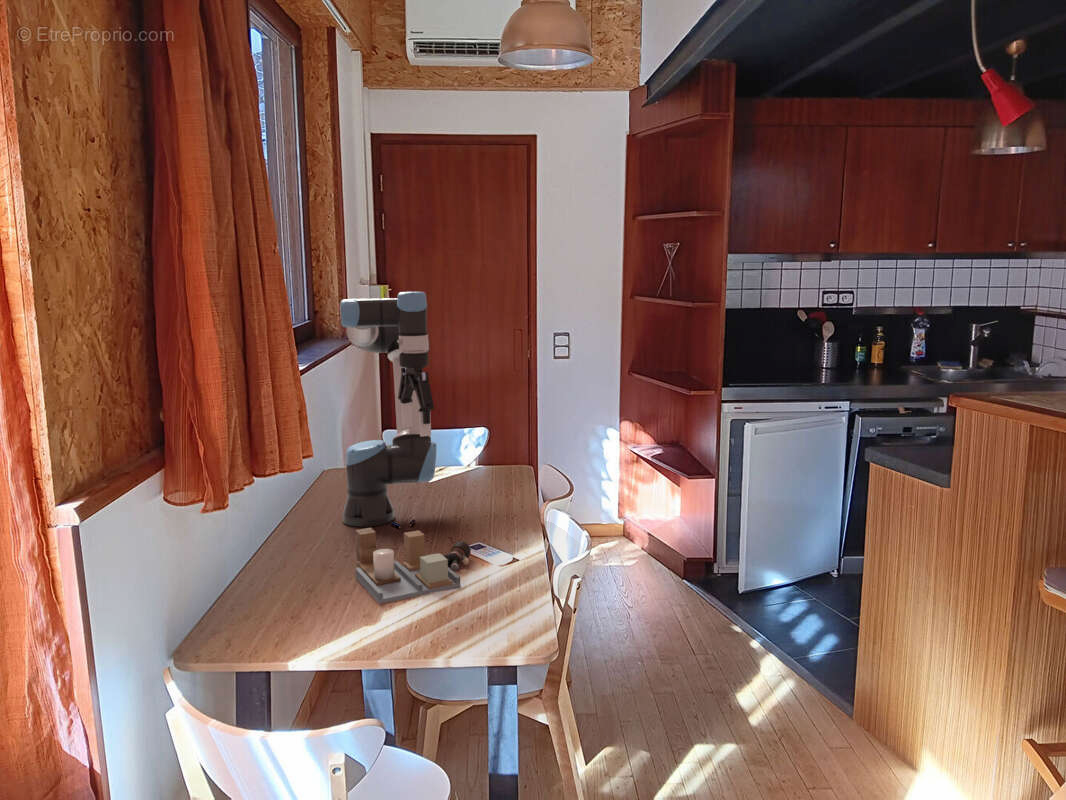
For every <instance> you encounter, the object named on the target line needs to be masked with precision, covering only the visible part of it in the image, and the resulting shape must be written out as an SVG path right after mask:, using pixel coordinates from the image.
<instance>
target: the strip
mask: <svg viewBox="0 0 1066 800" xmlns="http://www.w3.org/2000/svg"><path fill="white" fill-rule="evenodd" d="M355 544H356V545H355V548H356V549H355V550H356V551H355V552H356V562H355V563H356V566H357V568H360V569H361V570H362V571H363V572H364V573H365V574H366V575H367V576H368V577H369V578H370V579H371V580H372V582H373V583H374V584H375V585H376V586H379V585H384V584H389V583H394V582H399V581H401V578H400V577H399V576H398V575H397V574H396V573H395V572H394V574H395V576H394V577H393V578H391V579H388V580H378V579H375V578H374V559H373V552H374V551H376V550H377V532H376V531H375V530H374V529H373V528H372V527H365V528H361V529H357V530H355Z"/></svg>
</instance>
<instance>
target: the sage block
mask: <svg viewBox="0 0 1066 800" xmlns="http://www.w3.org/2000/svg"><path fill="white" fill-rule="evenodd" d="M431 554H432V555H429V554H427V555H425V556H421V557H420V573H421V578H423V579H424V580H425V581H426V582H427V583H428V584H429V583H434V582H439V581H444V580H448V559H446V558H445V557H444V556H443V554H441V553H440V552H439V553H431Z"/></svg>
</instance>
